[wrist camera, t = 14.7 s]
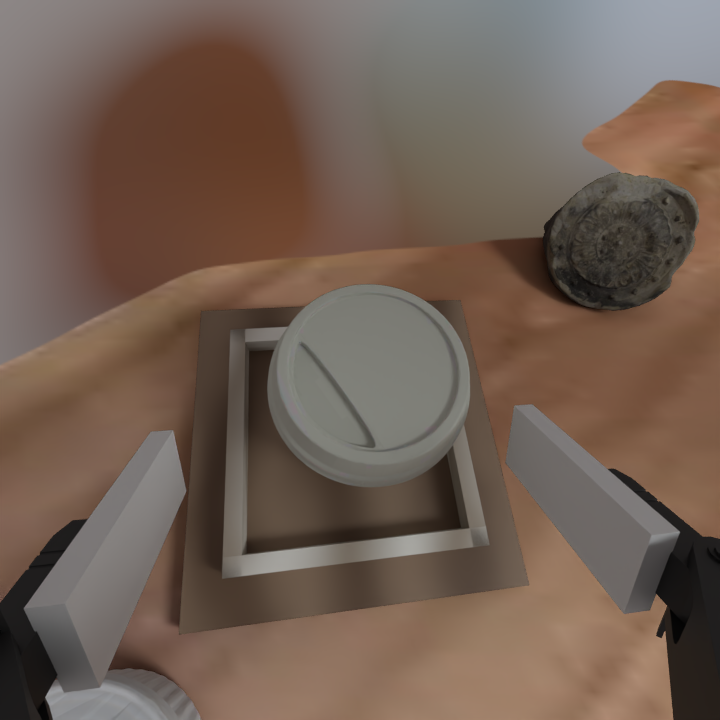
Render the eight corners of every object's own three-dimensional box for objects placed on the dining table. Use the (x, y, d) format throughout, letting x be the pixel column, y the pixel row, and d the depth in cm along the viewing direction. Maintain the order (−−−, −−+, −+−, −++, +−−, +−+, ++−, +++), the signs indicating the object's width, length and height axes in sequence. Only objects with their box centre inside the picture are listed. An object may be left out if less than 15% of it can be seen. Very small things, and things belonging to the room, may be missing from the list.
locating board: (456, 306, 31) (466, 289, 29) (521, 583, 24) (542, 589, 21) (205, 317, 29) (194, 300, 27) (184, 629, 21) (168, 642, 19)
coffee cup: (289, 376, 27) (265, 271, 16) (408, 373, 28) (464, 272, 17) (287, 506, 23) (254, 488, 12) (423, 498, 24) (505, 475, 13)
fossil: (544, 315, 31) (596, 185, 25) (506, 267, 38) (539, 157, 32) (671, 317, 32) (752, 191, 26) (610, 270, 39) (662, 162, 33)
